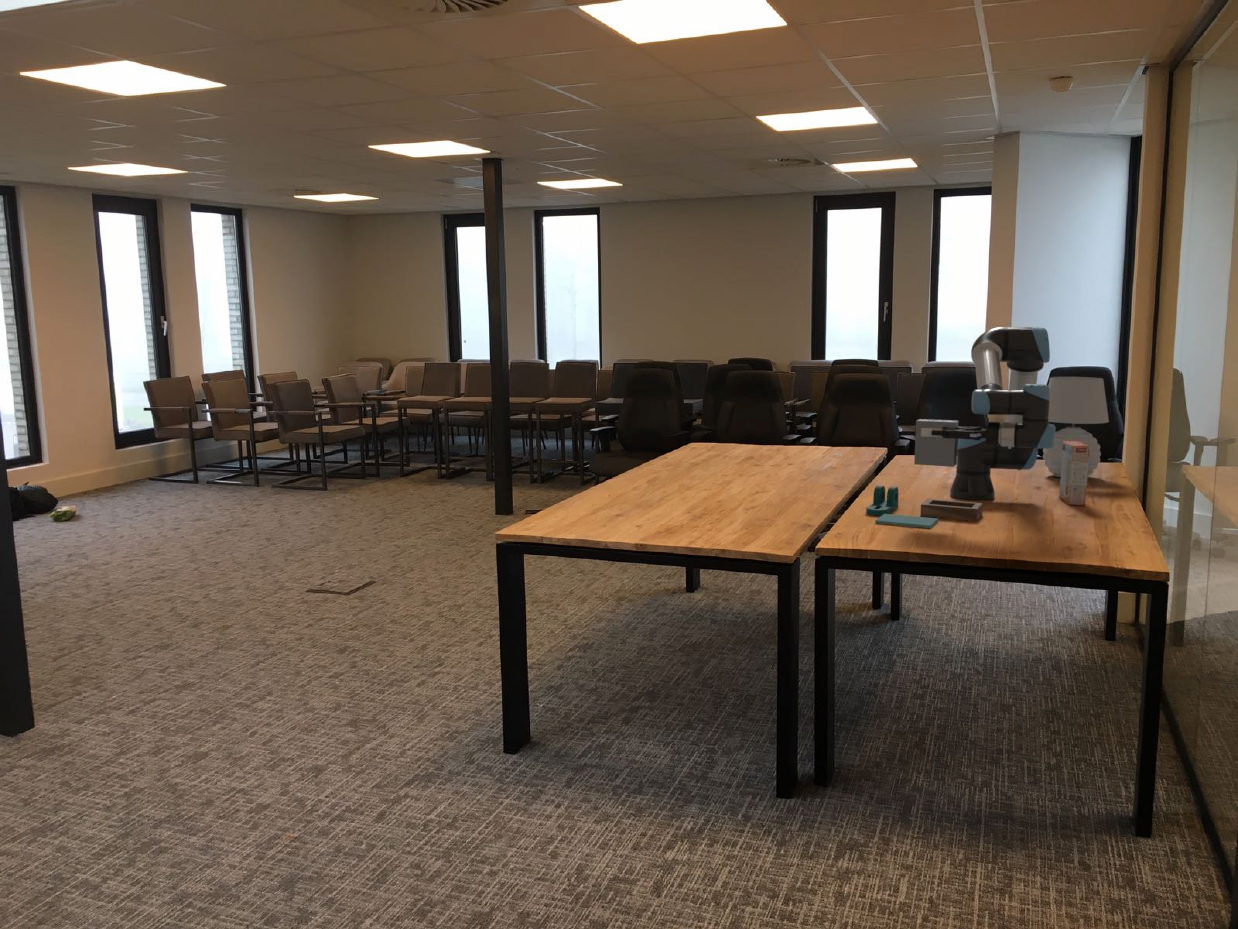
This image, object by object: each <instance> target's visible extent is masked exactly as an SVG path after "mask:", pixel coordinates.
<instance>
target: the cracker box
mask: <svg viewBox="0 0 1238 929" xmlns="http://www.w3.org/2000/svg"><path fill="white" fill-rule="evenodd" d="M1089 450H1090V446H1087V445H1085V444H1083V443H1081V442H1077V441H1063V450H1062V465H1061V478H1059V479H1060V482H1059V494H1058V498H1059V499H1060V500H1061V501H1063V502H1064V504H1065V503H1066V504H1067V505H1069V506H1086V500H1087V488H1088V486H1087V485H1088V476H1089V475H1088V462H1089ZM1087 475H1088V476H1087Z"/></svg>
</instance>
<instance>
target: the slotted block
mask: <svg viewBox="0 0 1238 929" xmlns="http://www.w3.org/2000/svg"><path fill="white" fill-rule="evenodd" d="M919 515H920V516H919V517H921V516H923V517H926V518H932V517H939V518H938V519H943V518H945V519H944V520H954V519H955V520H957V521H965V520H968V521H967V522H977V521H979V520H980V519H981V517H982V516H983V503H982V502H975V501H974V502H973V501H959V500H950V499H949V500H948V499H947V500H946V499H937V498H936V499H935V498H927V499H926V500H924V501H923V502H922V503H921V504H920V513H919ZM955 520H954V521H955Z"/></svg>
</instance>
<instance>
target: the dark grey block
mask: <svg viewBox="0 0 1238 929" xmlns="http://www.w3.org/2000/svg"><path fill="white" fill-rule="evenodd" d="M959 424H960V422H959V420H953V419H952V420H951V419H948V420H947V419H926V418H925V419H924V418H922V419H921V418H919V419H917V420H915V438H914V440H915V442H914V444H915V445H914V465H918V466H930V467H931V466H932V467H933V466H935V467H947V468H948V467H949V468H950V467H951V468H953V467H955V466H957V452H958V449H957V447H958V439H954V438H943V437H925V436H921V428H943V427H945V429H954V430H955V429H957V430H958V427H959Z"/></svg>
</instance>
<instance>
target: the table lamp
mask: <svg viewBox="0 0 1238 929" xmlns="http://www.w3.org/2000/svg"><path fill="white" fill-rule="evenodd" d="M1047 386H1049V388H1050V403H1049V416H1048V421H1049V423H1060V424H1071V426H1065V428H1062V429H1061V428H1060V430H1058V431H1055V442H1054V446H1053V447H1052V448H1050V449H1042V452H1043V455H1042V459H1043V460H1044V466H1045V467H1046V468H1047V469H1048V472H1049V473H1051V474H1052V475H1053V476H1054V477H1055V476H1057V477H1056V478H1058V477H1061V465H1062V450H1063V441H1077V442H1081V443H1083V444H1085V445H1087V446H1090V450H1089V462H1088V475H1087V477H1088V476H1090V475H1092V474H1093V473H1094V470H1096V469H1097V468H1098V464H1099V463H1100V462H1101V458H1100V457H1101V455H1102V453H1101V450H1100V449H1101V445H1100V444H1099V443H1098V439H1097V438H1096V437H1093V434H1092V433H1091V432H1088V431H1087V430H1085V429H1083V428H1082V427H1080V426H1076V424H1077V425H1078V424H1079V425H1080V424H1081V425H1084V424H1085V425H1091V424H1092V425H1093V424H1094V425H1097V424H1107V423H1110V420H1109V413H1108V406H1107V405H1108V404H1107V398H1106V390H1105V382H1104V378H1101V377H1089V376H1052V377H1049V382H1048V385H1047Z"/></svg>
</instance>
